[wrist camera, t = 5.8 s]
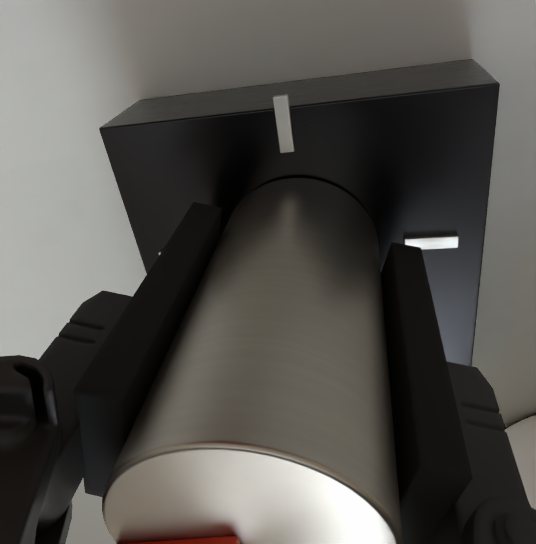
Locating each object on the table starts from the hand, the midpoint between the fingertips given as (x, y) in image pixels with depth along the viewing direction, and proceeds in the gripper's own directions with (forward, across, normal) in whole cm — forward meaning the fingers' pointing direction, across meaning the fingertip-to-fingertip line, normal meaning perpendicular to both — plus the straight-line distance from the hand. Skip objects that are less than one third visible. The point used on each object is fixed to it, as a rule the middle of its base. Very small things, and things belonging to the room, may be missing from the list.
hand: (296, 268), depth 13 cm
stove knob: (+1, 0, 0) cm, 1 cm away
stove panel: (+4, +1, -2) cm, 5 cm away
